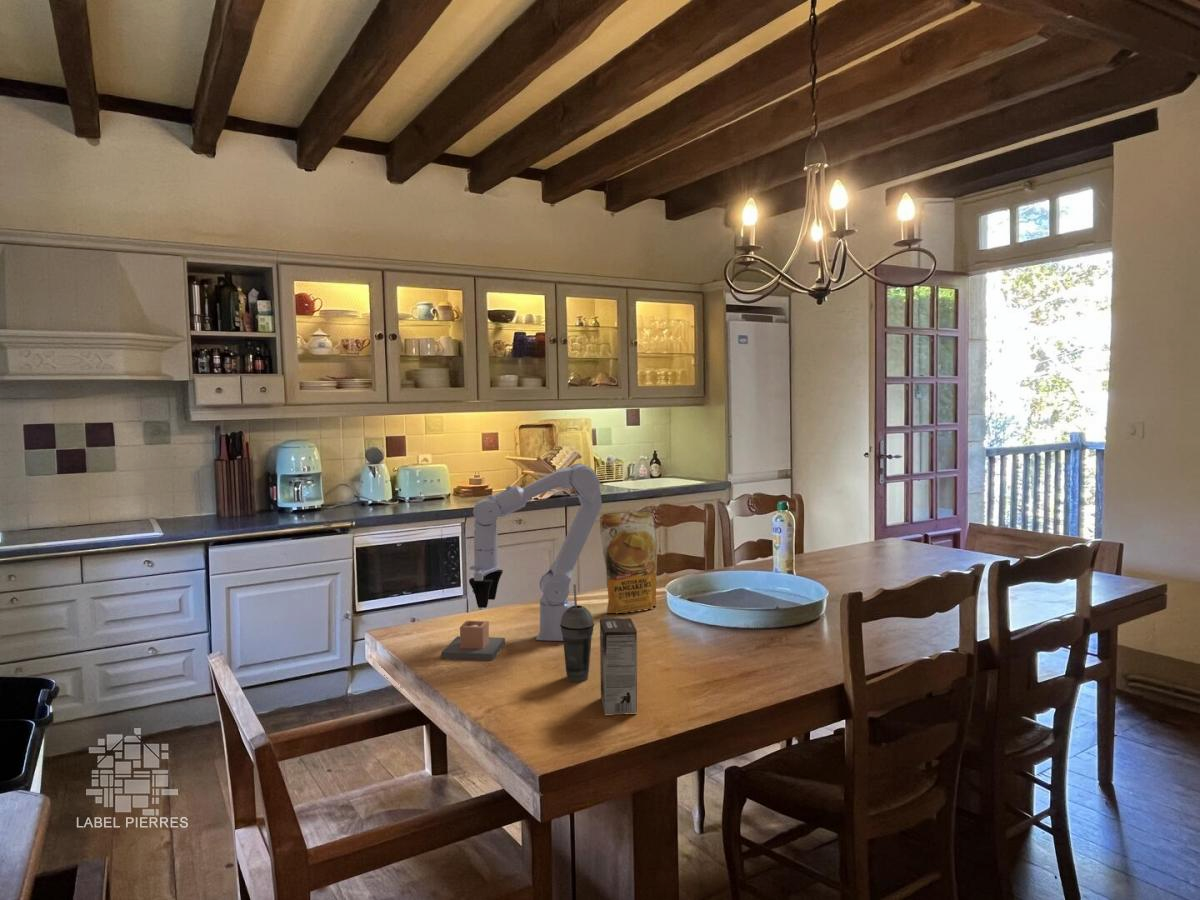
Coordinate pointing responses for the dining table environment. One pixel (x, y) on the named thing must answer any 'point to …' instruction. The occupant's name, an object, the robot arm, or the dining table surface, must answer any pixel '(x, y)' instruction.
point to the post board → (473, 650)
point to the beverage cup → (577, 640)
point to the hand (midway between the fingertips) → (486, 603)
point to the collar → (474, 634)
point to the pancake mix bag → (629, 560)
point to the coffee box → (618, 665)
